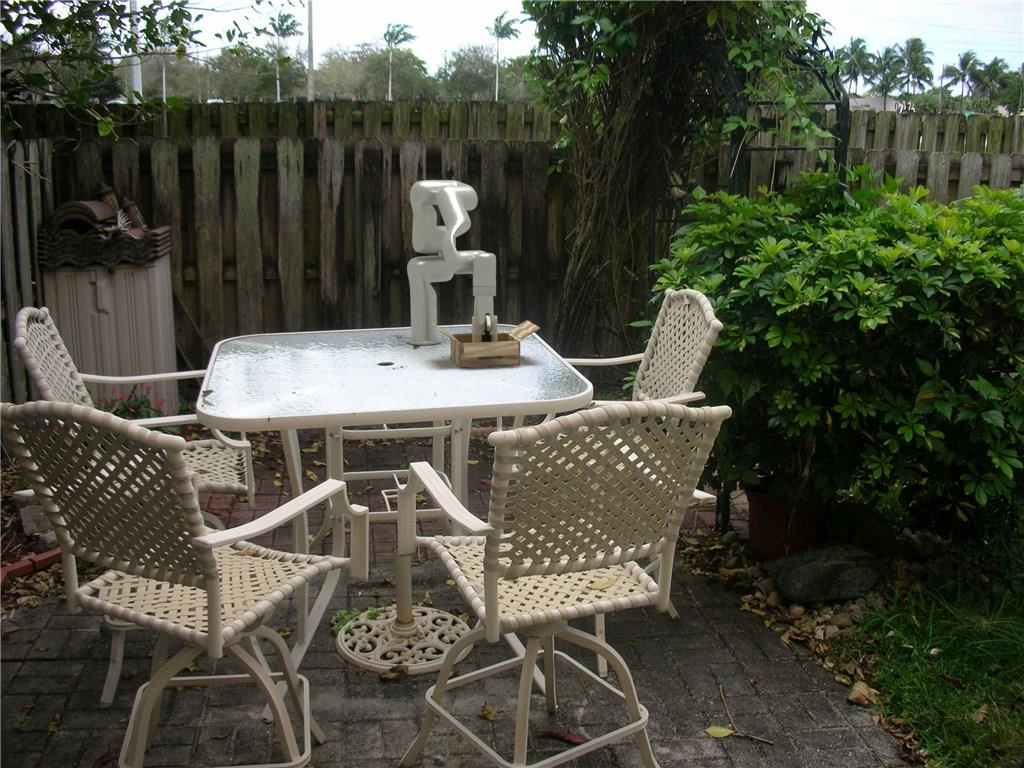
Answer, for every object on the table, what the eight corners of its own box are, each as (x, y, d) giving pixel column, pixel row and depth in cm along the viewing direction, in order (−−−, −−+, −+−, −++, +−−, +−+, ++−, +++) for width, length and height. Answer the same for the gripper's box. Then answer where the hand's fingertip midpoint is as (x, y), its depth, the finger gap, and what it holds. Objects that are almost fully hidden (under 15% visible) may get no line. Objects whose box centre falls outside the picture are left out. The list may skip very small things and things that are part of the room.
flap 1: (449, 334, 325) (431, 323, 323) (449, 333, 325) (431, 322, 323) (457, 342, 310) (439, 331, 308) (458, 341, 310) (439, 330, 308)
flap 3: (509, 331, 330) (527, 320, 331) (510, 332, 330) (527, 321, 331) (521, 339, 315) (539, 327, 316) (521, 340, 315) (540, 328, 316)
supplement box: (497, 353, 324) (498, 315, 321) (496, 356, 319) (496, 317, 316) (473, 353, 324) (473, 314, 321) (471, 356, 320) (471, 317, 317)
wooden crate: (450, 358, 328) (450, 335, 326) (507, 355, 332) (508, 333, 331) (460, 368, 311) (459, 343, 310) (520, 365, 316) (520, 341, 314)
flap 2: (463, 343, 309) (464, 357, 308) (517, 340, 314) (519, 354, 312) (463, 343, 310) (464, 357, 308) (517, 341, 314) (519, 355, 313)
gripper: (468, 287, 324) (468, 340, 328) (478, 294, 308) (478, 350, 312) (489, 287, 326) (489, 340, 330) (501, 294, 310) (501, 349, 314)
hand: (484, 344), depth 321 cm, fingers closed on supplement box, 5 cm apart
